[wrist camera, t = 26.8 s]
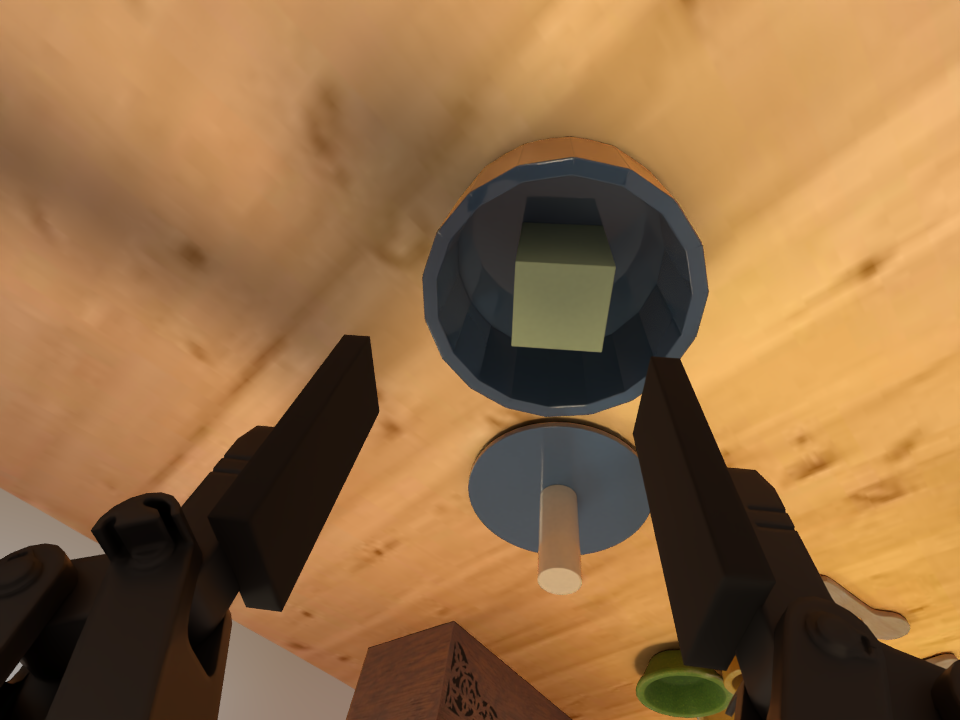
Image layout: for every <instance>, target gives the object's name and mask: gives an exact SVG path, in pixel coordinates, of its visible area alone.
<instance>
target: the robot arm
mask: <svg viewBox="0 0 960 720" xmlns="http://www.w3.org/2000/svg"><path fill="white" fill-rule="evenodd" d="M378 414H379V404H378V397H377V389H376V381H375V373H374V366H373V358H372V350H371V343H370V336H356V335H344V336H343V337H342V338H341V340H340V341H339V342H338V344H337V345H336V346H335V348H334V349H333V350H332V352H331V353H330V354H329V356H328V357H327V358H326V360H325V361H324V362H323V364H322V365H321V366H320V368H319V369H318V370H317V371H316V373H315V374H314V375H313V377H312V378H311V379H310V381H309V382H308V383H307V385H306V386H305V387H304V389H303V390H302V391H301V393H300V394H299V395H298V397H297V398H296V399H295V401H294V402H293V403H292V405H291V406H290V407H289V409H288V410H287V411H286V413H285V414H284V415H283V417H282V418H281V419H280V421H279V422H278V423H277V425H276V426H275V427H268V426H256V427H254V428H253V429H252V430H250V431H249V432H247V433H246V434H244V435H243V436H241V437H240V438H238V439H237V440H236V442H235V443H234V444H233V445H232V446H231V448H230V449H229V450H228V451H227V452H226V454H225V455H224V458H221V460H220V461H219V462H218V463H217V464H216V466H215V467H214V468H213V472H210V473H209V474H208V475H207V477H206V478H205V479H204V480H203V481H202V483H201V484H200V485H199V486H198V487H197V489H196V490H195V491H194V492H193V493H192V495H191V496H190V497H189V498H188V499H187V501H186V502H185V503H184V504H183V506H182V507H181V506H180V504H179V503H178V501H177V500H176V499H175V498H174V496H172V495H169V494H165V493H162V492H160V493H146V494H143V495H139V496H136V497H132V498H130V499H128V500H126V501H124V502H122V503H120V504H118V505H116V506H114V507H113V508H112V509H110V510H109V511H108V512H107V513H105V514H104V515H103V516H102V517H101V518H100V519H99V520H98V521H97V523H96V524H95V525H94V527H93V528H92V530H91V532H92V533H93V535H94V536H95V538H96V539H97V541H98V543H99V544H100V546H101V547H102V549H103V550H104V552H105V554H103V555H97V556H91V557H85V558H79V559H73V560H70V559H69V558H68V556H67V555H66V554H65V552H64V551H63V550H62V549H61V548H60V547H59V546H57V545H52V544H39V545H33V546H28V547H26V548H23V549H20V550H18V551H15V552H13V553H11V554H9V555H7V556H5V557H4V558H2V559H0V720H217V719H218V713H219V706H220V700H221V692H222V686H223V680H224V673H225V666H226V660H227V653H228V647H229V639H230V633H231V627H232V619H231V613H230V611H229V607H230V605H231V604H232V602H233V600H234V599H235V597H236V595H237V593H238V592H240V594H241V596H242V599H243V601H244V603H245V605H246V607H249V608H256V609H264V610H271V611H279V612H282V610H283V608H284V606H285V604H286V602H287V600H288V598H289V596H290V594H291V592H292V590H293V588H294V585H295V583H296V581H297V579H298V577H299V575H300V573H301V571H302V569H303V567H304V565H305V563H306V561H307V559H308V557H309V555H310V553H311V551H312V549H313V547H314V545H315V542H316V540H317V538H318V536H319V534H320V532H321V530H322V528H323V526H324V524H325V522H326V520H327V518H328V516H329V514H330V512H331V510H332V508H333V506H334V504H335V502H336V500H337V497H338V495H339V493H340V491H341V489H342V487H343V485H344V483H345V481H346V479H347V477H348V475H349V473H350V471H351V469H352V467H353V465H354V463H355V461H356V459H357V457H358V454H359V452H360V450H361V448H362V446H363V444H364V442H365V440H366V438H367V436H368V434H369V432H370V430H371V428H372V426H373V424H374V422H375V420H376V418H377V416H378ZM633 436H634V441H635V446H636V450H637V455H638V459H639V464H640V468H641V473H642V477H643V482H644V486H645V491H646V496H647V500H648V505H649V509H650V514H651V518H652V523H653V527H654V532H655V537H656V541H657V546H658V550H659V555H660V559H661V564H662V568H663V573H664V578H665V582H666V587H667V591H668V596H669V600H670V605H671V609H672V614H673V619H674V623H675V628H676V632H677V637H678V641H679V646H680V650H681V655H682V660H683V664H684V665H685V666H693V667H700V668H708V669H715V670H723V671H727V669H728V667H729V665H730V664H731V662H732V660H733V658H734V657H735V655H736V657H737V661H738V664H739V667H740V670H741V673H742V677H743V681H742V682H741V684H740V686H739V687H738V689H737V691H736V692H735V694H734V696H733V697H732V699H731V700H730V702H729V704H728V707H727V710H726V712H725V714H727V715H728V716H730V717H732V716H733V714H734V712H735V716H734V720H960V660H957V661H955V662H954V663H953V664H951V665H950V666H949V667H948V668H947V669H945V668H943V667H940V666H937V665H935V664H932V663H930V662H927V661H925V660H922V659H920V658H917V657H915V656H912V655H909V654H907V653H904V652H902V651H899V650H897V649H894V648H892V647H890V646H888V645H886V644H884V643H881V642H879V641H878V640H877V638H876V637H875V635H874V634H873V633H872V631H871V630H870V629H869V627H868V626H867V625H866V624H865V623H864V622H862V621H861V620H860V619H859V618H858V617H857V616H855V615H854V614H853V613H852V612H851V611H849V610H847V609H845V608H844V607H842V606H840V605H838V604H836V603H835V602H834V600H833V598H832V597H831V595H830V593H829V591H828V589H827V588H826V586H825V584H824V582H823V580H822V578H821V576H820V574H819V572H818V570H817V568H816V567H815V565H814V563H813V561H812V559H811V557H810V555H809V553H808V551H807V549H806V547H805V545H804V544H803V542H802V540H801V538H800V536H799V534H798V532H797V531H795V530H794V527H795V526H794V524H793V523H792V521H791V519H790V517H789V515H788V513H786V512H785V510H786V509H785V507H784V505H783V503H782V501H781V500H780V498H779V496H778V494H777V492H776V490H775V488H774V487H773V486H772V485H770V484H769V483H768V482H767V481H766V480H765V479H764V478H763V477H762V476H761V475H760V474H759V473H758V472H757V471H756V470H749V469H739V468H728V467H727V466H726V464H725V462H724V459H723V457H722V455H721V453H720V450H719V448H718V446H717V443H716V441H715V439H714V436H713V434H712V432H711V429H710V427H709V425H708V422H707V420H706V418H705V416H704V413H703V411H702V409H701V406H700V404H699V402H698V399H697V397H696V395H695V392H694V390H693V388H692V385H691V383H690V381H689V379H688V376H687V374H686V372H685V369H684V367H683V365H682V362H681V360H680V358H668V357H654V356H651V358H650V362H649V366H648V371H647V375H646V379H645V383H644V388H643V392H642V396H641V401H640V405H639V409H638V414H637V418H636V422H635V427H634V431H633ZM19 662H21V664H22V665H23V666H22V667H21V669H20V670H19V671H18V672H17V673H16V674H15V675H14V677H13V678H12V679H11V680H10V681H7V682H5V681H6V680H7V678H8V677H9V675H10V674H11V673H12V671H13V670H14V668H15V667H16V665H17V664H18V663H19Z"/></svg>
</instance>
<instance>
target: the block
mask: <svg viewBox="0 0 960 720" xmlns="http://www.w3.org/2000/svg"><path fill="white" fill-rule="evenodd" d="M615 270H616V266H615V262H614V259H613V256H612V253H611V250H610V246H609V243H608V240H607V237H606V234H605V230H604V227H603V226H595V225H572V224H549V223H526V222H523V223H522V228H521V233H520V239H519V245H518V250H517V256H516V261H515V280H514V300H513V321H512V341H511V345H512V346H518V347H532V348H547V349H561V350H575V351H589V352H602V348H603V342H604V336H605V330H606V324H607V318H608V312H609V306H610V300H611V294H612V288H613V282H614V276H615Z"/></svg>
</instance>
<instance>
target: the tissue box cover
mask: <svg viewBox="0 0 960 720" xmlns="http://www.w3.org/2000/svg"><path fill="white" fill-rule="evenodd" d="M346 720H571V719H570V718H569V717H568V716H567V715H566V714H564V713H563V712H562V711H561V710H560V709H558V708H557V707H556V706H555V705H554V704H552V703H551V702H550V701H549V700H548V699H546V698H545V697H544V696H543V695H542V694H540V693H539V692H538V691H537V690H536V689H534V688H533V687H532V686H531V685H530V684H528V683H527V682H526V681H525V680H524V679H522V678H521V677H520V676H519V675H518V674H516V673H515V672H514V671H513V670H512V669H510V668H509V667H508V666H507V665H506V664H504V663H503V662H502V661H501V660H500V659H498V658H497V657H496V656H495V655H494V654H493V653H491V652H490V651H489V650H488V649H487V648H485V647H484V646H483V645H482V644H481V643H479V642H478V641H477V640H476V639H475V638H473V637H472V636H471V635H470V634H469V633H467V632H466V631H465V630H464V629H463V628H461V627H460V626H459V625H458V624H457V623H455V622H454V621H453V622H450V623H447V624H443V625H440V626H437V627H434V628H431V629H428V630H424V631H421V632H418V633H415V634H412V635H409V636H405V637H402V638H399V639H396V640H393V641H390V642H386V643H383V644H380V645H377V646H374V647H371V648H368V651H367V654H366V657H365V660H364V664H363V667H362V670H361V673H360V676H359V680H358V683H357V686H356V689H355V692H354V696H353V699H352V702H351V705H350V709H349V712H348V715H347V718H346Z"/></svg>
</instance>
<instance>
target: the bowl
mask: <svg viewBox="0 0 960 720" xmlns="http://www.w3.org/2000/svg"><path fill="white" fill-rule="evenodd" d="M523 222H526V223H549V224H572V225H595V226H603V227H604V230H605V234H606V237H607V240H608V243H609V246H610V250H611V253H612V256H613V259H614V262H615V266H616V270H615V276H614V282H613V288H612V294H611V300H610V306H609V312H608V318H607V324H606V330H605V336H604V342H603V348H602V352H589V351H575V350H561V349H547V348H532V347H518V346H512V345H511V341H512V321H513V300H514V280H515V261H516V256H517V250H518V245H519V239H520V233H521V228H522V223H523ZM422 281H423V298H424V315H425V321H426V323H427V325H428V328H429V330H430V332H431V334H432V337H433V339H434V341H435V343H436V345H437V348H438V350H439V352H440V354H441V357H442V359H443V360H444V361H445V362H446V363H447V364H448V365H449V366H450V367H451V368H452V369H453V370H454V371H455V372H456V373H457V375H458V376H459V377H460V378H461V379H462V380H463V381H464V382H465V383H466V384H467V385H468V386H469V387H470V388H471V389H473V390H475V391H477V392H478V393H480V394H482V395H484V396H486V397H487V398H489V399H491V400H493V401H495V402H496V403H498V404H500V405H502V406H504V407H505V408H509V409H513V410H518V411H522V412H527V413H531V414H536V415H540V416H544V417H547V416H548V417H555V416H574V415H589V414H594V413H597V412H600V411H603V410H606V409H609V408H612V407H615V406H618V405H621V404H624V403H627V402H630V401H632V400H634V399H635V398H637V397H638V396H640V395H641V394H642V392H643V388H644V383H645V379H646V375H647V371H648V366H649V362H650V358H651V356H654V357H668V358H680V359H681V357H682V356H683V354H684V353H685V352H686V350H687V349H688V348H689V346H690V345H691V344H692V342H693V341H694V340H695V337H696V336H697V333H698V329H699V326H700V322H701V319H702V315H703V311H704V308H705V304H706V301H707V297H708V292H709V289H708V281H707V273H706V265H705V257H704V249H703V245H702V242H701V240H700V239H699V237H698V236H697V234H696V232H695V231H694V229H693V227H692V226H691V224H690V222H689V221H688V219H687V217H686V216H685V214H684V212H683V211H682V209H681V208H680V206H679V204H678V203H677V201H676V200H675V199H674V198H673V197H672V196H671V194H670V193H669V192H668V191H667V190H666V189H665V188H664V187H663V185H662V184H661V183H660V182H659V181H658V180H657V179H656V178H655V176H654V175H653V174H652V173H651V172H650V171H649V170H648V169H646V168H645V167H643V166H642V165H641V164H639V163H638V162H636V161H635V160H634V159H633V158H631V157H630V156H628V155H627V154H625V153H624V152H622V151H621V150H619V149H618V148H616V147H615V146H612V145H608V144H604V143H601V142H597V141H593V140H589V139H584V138H576V137H572V136H571V137H569V136H567V137H559V138H549V139H543V140H538V141H534V142H530V143H526V144H523V145H521V146H519V147H517V148H516V149H514V150H511V151H509V152H507V153H505V154H504V155H502V156H501V157H500V158H498V159H497V160H495V161H493V162H492V163H490V164H488V165H487V166H486V167H485V168H484V169H483V170H482V171H481V172H480V174H479V175H478V176H477V177H476V178H475V180H474V181H473V182H472V183H471V184H470V186H469V187H468V188H467V189H466V191H465V192H464V193H463V194H462V196H461V197H460V198H459V200H458V201H457V203H456V204H455V206H454V207H453V208H452V210H451V211H450V213H449V214H448V216H447V217H446V219H445V220H444V222H443V223H442V225H441V226H440V228H439V229H438V231H437V233H436V236H435V239H434V242H433V245H432V248H431V251H430V254H429V257H428V260H427V263H426V266H425V269H424V272H423V277H422Z"/></svg>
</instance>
